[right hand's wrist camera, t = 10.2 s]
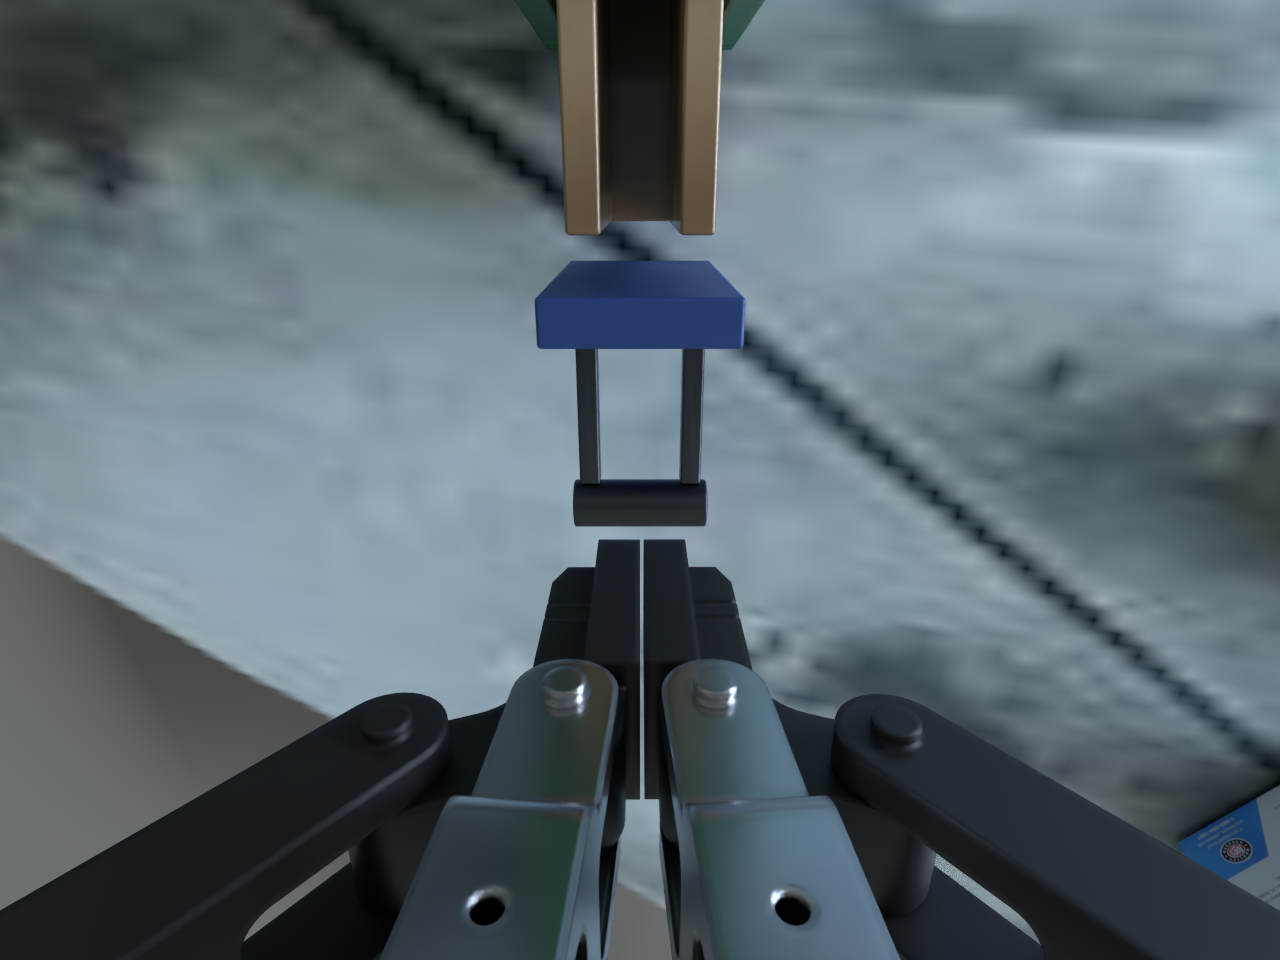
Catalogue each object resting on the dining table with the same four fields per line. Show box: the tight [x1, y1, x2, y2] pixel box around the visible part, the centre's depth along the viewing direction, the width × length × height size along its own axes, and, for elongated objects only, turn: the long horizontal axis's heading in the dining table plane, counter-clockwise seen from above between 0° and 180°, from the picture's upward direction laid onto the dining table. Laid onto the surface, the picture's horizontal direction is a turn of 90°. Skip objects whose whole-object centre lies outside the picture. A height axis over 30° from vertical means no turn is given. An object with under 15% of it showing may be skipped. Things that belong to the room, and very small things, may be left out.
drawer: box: [535, 0, 746, 526], centre depth 18 cm, size 25×5×9 cm, turn 0°
